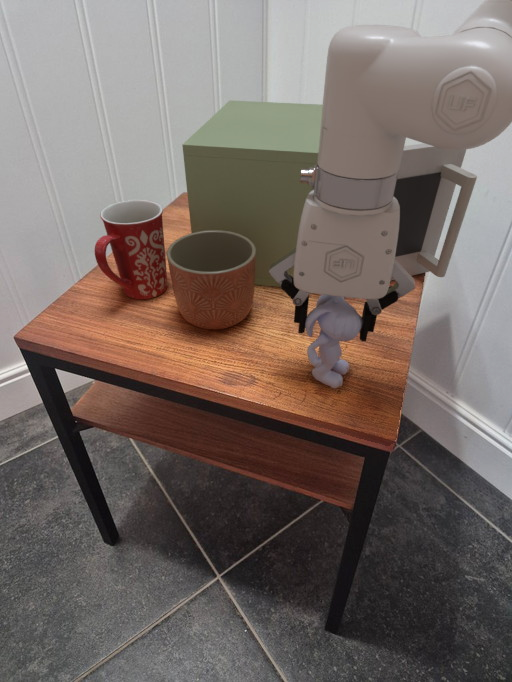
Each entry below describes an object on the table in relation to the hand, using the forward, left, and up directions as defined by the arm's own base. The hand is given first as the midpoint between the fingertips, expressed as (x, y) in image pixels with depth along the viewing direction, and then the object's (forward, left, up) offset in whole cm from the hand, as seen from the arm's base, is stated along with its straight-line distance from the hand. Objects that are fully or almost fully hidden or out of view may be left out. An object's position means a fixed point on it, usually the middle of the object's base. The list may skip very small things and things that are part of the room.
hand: (332, 329), depth 53 cm
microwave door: (-9, -22, -7) cm, 25 cm away
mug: (+32, -13, -7) cm, 35 cm away
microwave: (+12, -33, -7) cm, 36 cm away
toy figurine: (0, 0, -7) cm, 7 cm away
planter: (+18, -10, -7) cm, 22 cm away
